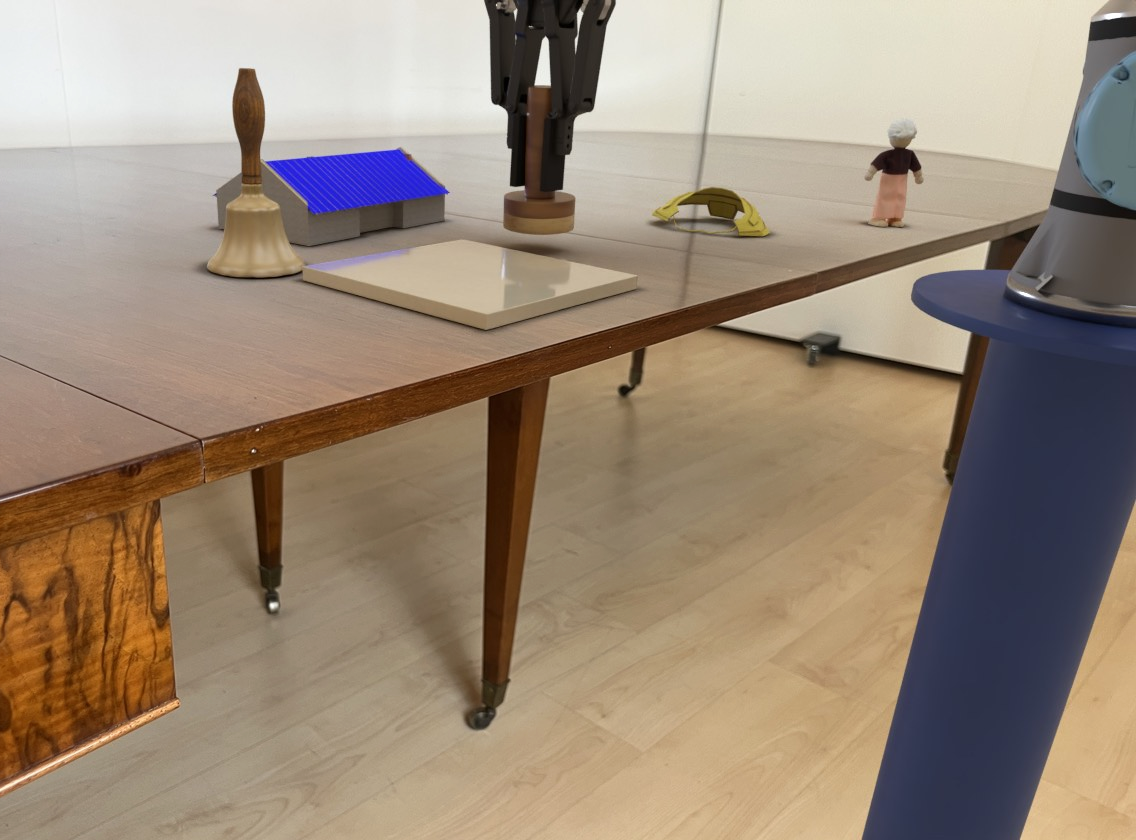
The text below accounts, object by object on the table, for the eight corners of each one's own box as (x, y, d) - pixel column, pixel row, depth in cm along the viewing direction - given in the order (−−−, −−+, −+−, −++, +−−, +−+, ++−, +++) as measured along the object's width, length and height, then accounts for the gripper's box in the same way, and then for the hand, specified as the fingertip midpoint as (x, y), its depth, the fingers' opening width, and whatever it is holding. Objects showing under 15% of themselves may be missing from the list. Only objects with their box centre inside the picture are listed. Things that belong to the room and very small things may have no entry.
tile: (636, 289, 85) (637, 275, 85) (486, 330, 71) (486, 314, 71) (462, 251, 97) (462, 239, 96) (302, 280, 82) (302, 266, 82)
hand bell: (196, 261, 87) (181, 64, 81) (287, 255, 91) (280, 67, 85) (221, 281, 81) (207, 69, 74) (319, 275, 85) (314, 72, 78)
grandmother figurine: (896, 221, 128) (918, 117, 123) (917, 227, 124) (940, 119, 119) (847, 222, 125) (867, 115, 120) (868, 228, 122) (889, 118, 117)
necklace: (789, 235, 114) (795, 198, 112) (698, 239, 109) (703, 200, 107) (723, 217, 124) (728, 182, 123) (637, 219, 120) (641, 183, 118)
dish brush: (586, 226, 99) (594, 86, 94) (549, 238, 94) (555, 91, 88) (528, 217, 103) (532, 82, 97) (489, 228, 98) (491, 86, 92)
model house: (355, 205, 119) (354, 141, 116) (449, 221, 112) (451, 153, 109) (213, 227, 102) (208, 152, 99) (314, 247, 95) (312, 167, 92)
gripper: (456, -92, 89) (448, 180, 98) (605, -99, 79) (581, 202, 89) (509, -82, 94) (497, 175, 104) (655, -87, 85) (627, 195, 94)
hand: (536, 187), depth 96 cm, fingers closed on dish brush, 3 cm apart
